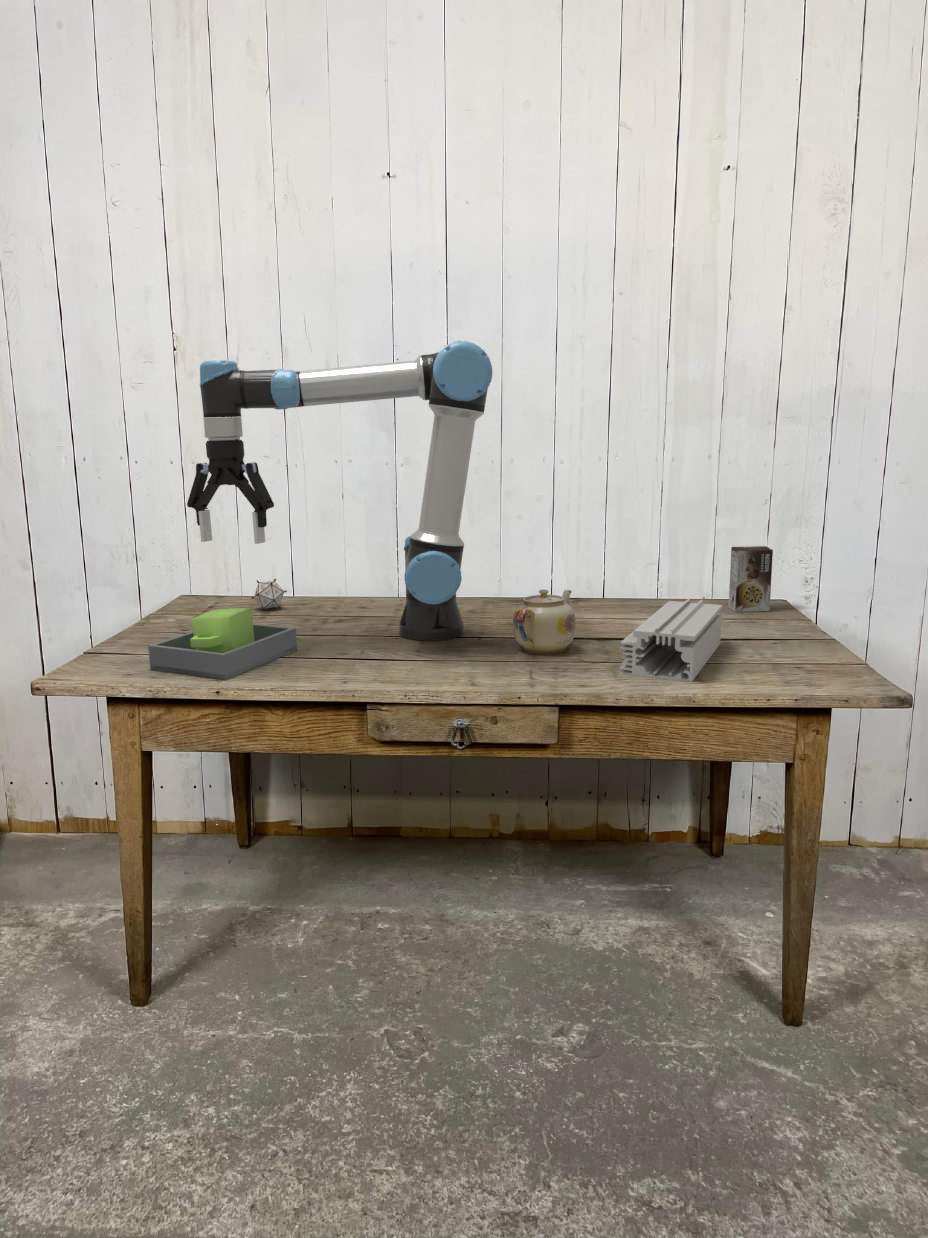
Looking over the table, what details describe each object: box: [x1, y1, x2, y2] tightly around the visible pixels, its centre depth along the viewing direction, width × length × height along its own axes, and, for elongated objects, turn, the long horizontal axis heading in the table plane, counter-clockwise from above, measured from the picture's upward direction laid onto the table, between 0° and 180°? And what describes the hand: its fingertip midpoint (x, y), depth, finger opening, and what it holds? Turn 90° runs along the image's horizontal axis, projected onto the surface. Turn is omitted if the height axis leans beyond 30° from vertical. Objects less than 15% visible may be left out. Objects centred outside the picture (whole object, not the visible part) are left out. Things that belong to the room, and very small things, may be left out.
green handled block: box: [190, 607, 255, 653], centre depth 184 cm, size 18×10×10 cm, turn 169°
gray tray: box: [147, 623, 298, 681], centre depth 184 cm, size 19×24×5 cm
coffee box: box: [728, 545, 774, 613], centre depth 226 cm, size 9×6×16 cm
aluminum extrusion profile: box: [618, 598, 723, 683], centre depth 182 cm, size 14×31×10 cm, turn 155°
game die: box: [250, 577, 288, 612], centre depth 233 cm, size 9×8×10 cm
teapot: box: [512, 589, 577, 656], centre depth 190 cm, size 20×14×13 cm
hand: (233, 542), depth 185 cm, fingers open, 13 cm apart
